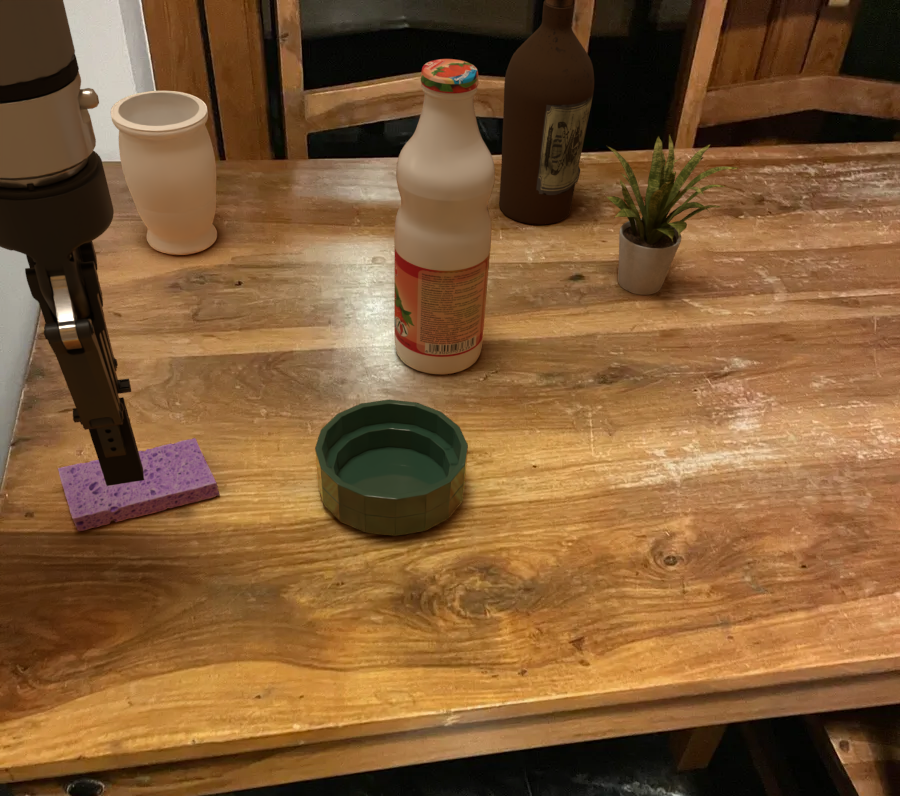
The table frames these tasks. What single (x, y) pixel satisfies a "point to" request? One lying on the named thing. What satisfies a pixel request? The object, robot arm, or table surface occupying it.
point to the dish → (391, 467)
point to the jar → (169, 168)
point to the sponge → (139, 486)
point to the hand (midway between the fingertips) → (124, 476)
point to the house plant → (655, 219)
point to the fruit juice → (443, 226)
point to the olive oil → (545, 119)
